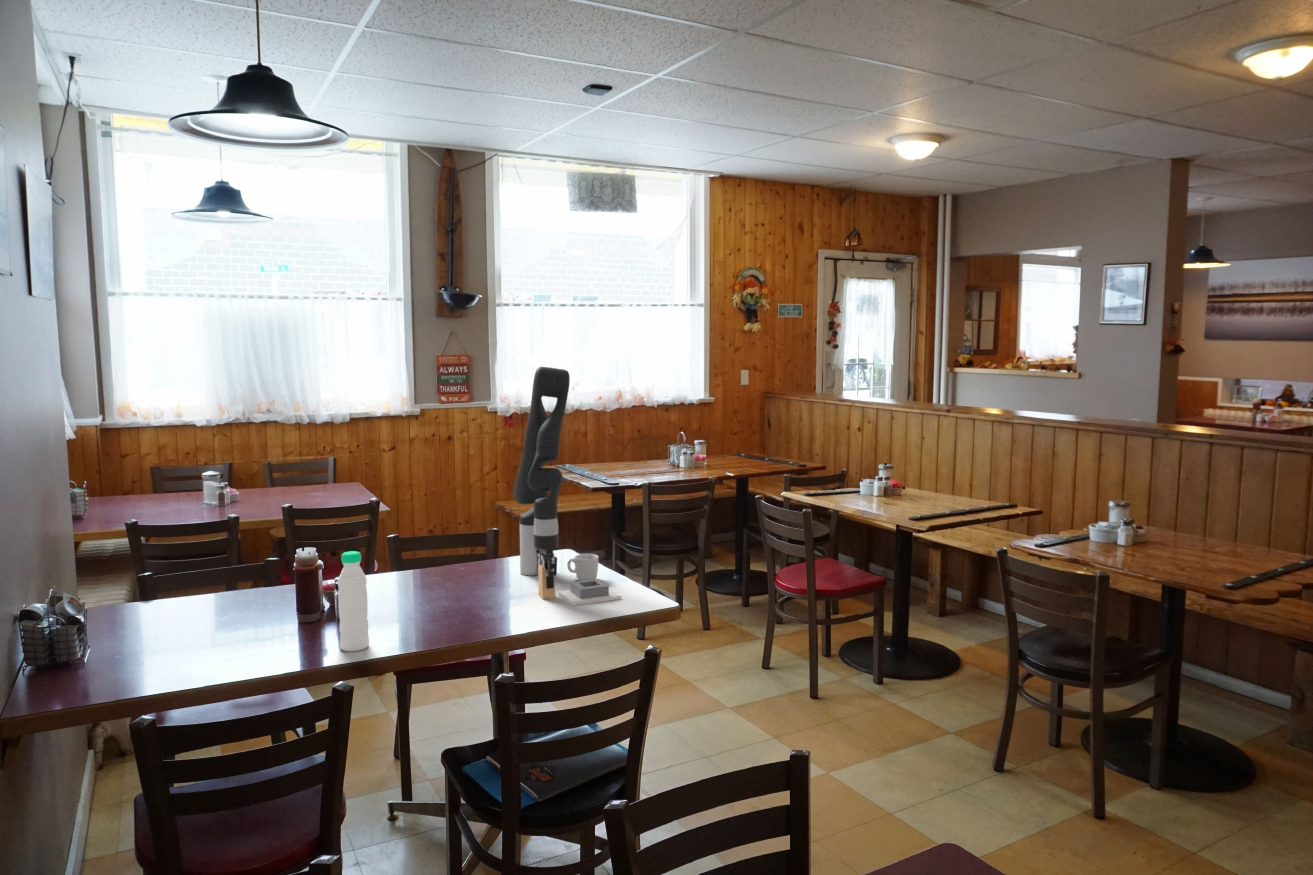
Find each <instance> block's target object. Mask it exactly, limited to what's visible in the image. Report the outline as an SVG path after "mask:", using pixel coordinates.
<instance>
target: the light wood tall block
mask: <svg viewBox="0 0 1313 875" xmlns="http://www.w3.org/2000/svg"><path fill="white" fill-rule="evenodd" d="M551 572H552V570H551ZM537 577H538V597H539V596H540V597H539V598H540V599H542V600H547V599H548V598H549V599H555V598H556V575H555V576H554V588H551V589H547V588H546V572H545V570H544V569H543V564H538V575H537ZM546 598H547V599H546Z"/></svg>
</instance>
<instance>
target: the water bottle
mask: <svg viewBox="0 0 1313 875" xmlns="http://www.w3.org/2000/svg"><path fill="white" fill-rule="evenodd" d="M340 557H341V564H342V565H343V568H342V570H341V572H340V575H339V577H338V578H337V587H338V594H337V596H338V598H337V599H338V601H337V602H338V616H339V625H338V626H339V628H338V629H339V637H340V638H339V647H340V649H341V650H342V651H344V652H349V653H350V652H353V653H354V652H359V651H363V650H365V649H367V648H368V647H369V645H370V637H369V620H368V612H369V611H368V610H369V609H368V592H367V591H368V589H367V580H368V579H367V577H366V574H365V573H364V571H363V569H362V567H361V566H360V564H361V562H362V554H361V552H359V551H355V550H350V551H345V552H343V553H342V554H341V556H340Z"/></svg>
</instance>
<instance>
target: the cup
mask: <svg viewBox="0 0 1313 875" xmlns="http://www.w3.org/2000/svg"><path fill="white" fill-rule="evenodd" d="M571 563H574V569H573V568H571V567H572V566H571ZM598 568H599V555H597V554H595V553H580V554H577V555H575V556H574V558H569V560H568V561H567V570H568V571H569V573H573V574H576V575H575V576H576V579H577V581H584V580H592V579H598V578H597V577H598V570H599V569H598Z"/></svg>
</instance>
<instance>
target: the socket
mask: <svg viewBox="0 0 1313 875" xmlns="http://www.w3.org/2000/svg"><path fill="white" fill-rule="evenodd" d="M569 586H570V589H566V590H565V589H564V590H558V591H557V595H558V594H559V595H558V596H559V597H561V598H562V599H563V600H565V601H566V602H567V603H568V602H569V603H568V604H569V605H571V606H577V605H576V604H579V605H587V604H593V603H602V602H609V601H615V600H621V599H622V595H621V594H619V593H618V592H617V591H615V590H614V589H612V588H611V587H610V586H609V585H607V584H606V583H605V582H604V581H602V580H600V579H599V578H596V579H592V580H584V581H579V580H577V581H570V584H569Z"/></svg>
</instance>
